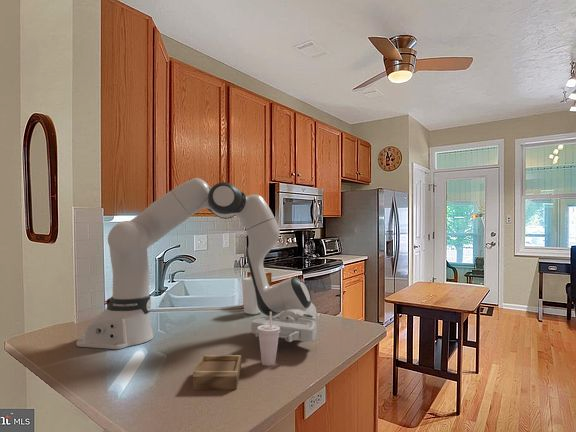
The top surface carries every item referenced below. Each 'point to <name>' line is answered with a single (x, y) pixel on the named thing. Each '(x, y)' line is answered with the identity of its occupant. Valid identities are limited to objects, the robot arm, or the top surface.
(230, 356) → the wooden tray
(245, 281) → the cup
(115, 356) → the top surface
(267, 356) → the smoothie
